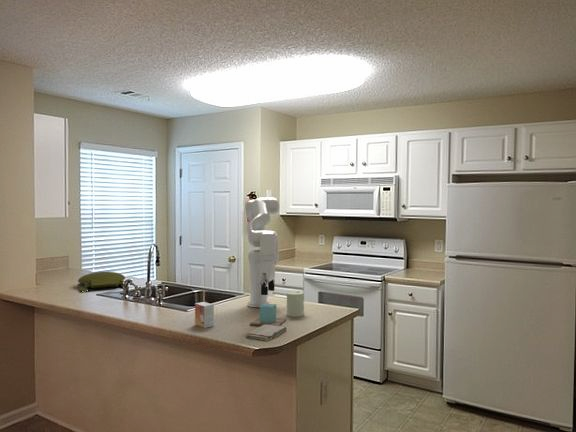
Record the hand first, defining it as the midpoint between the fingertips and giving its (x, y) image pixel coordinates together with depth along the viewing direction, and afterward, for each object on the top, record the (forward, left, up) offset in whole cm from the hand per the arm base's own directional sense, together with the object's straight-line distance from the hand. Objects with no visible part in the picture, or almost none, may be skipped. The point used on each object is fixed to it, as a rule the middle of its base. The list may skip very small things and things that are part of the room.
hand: (267, 292), depth 222 cm
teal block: (0, 0, -14) cm, 14 cm away
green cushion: (-55, -143, -16) cm, 154 cm away
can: (-19, +8, -15) cm, 26 cm away
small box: (+13, -28, -15) cm, 34 cm away
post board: (0, 0, -15) cm, 15 cm away
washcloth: (+18, +6, -16) cm, 24 cm away
